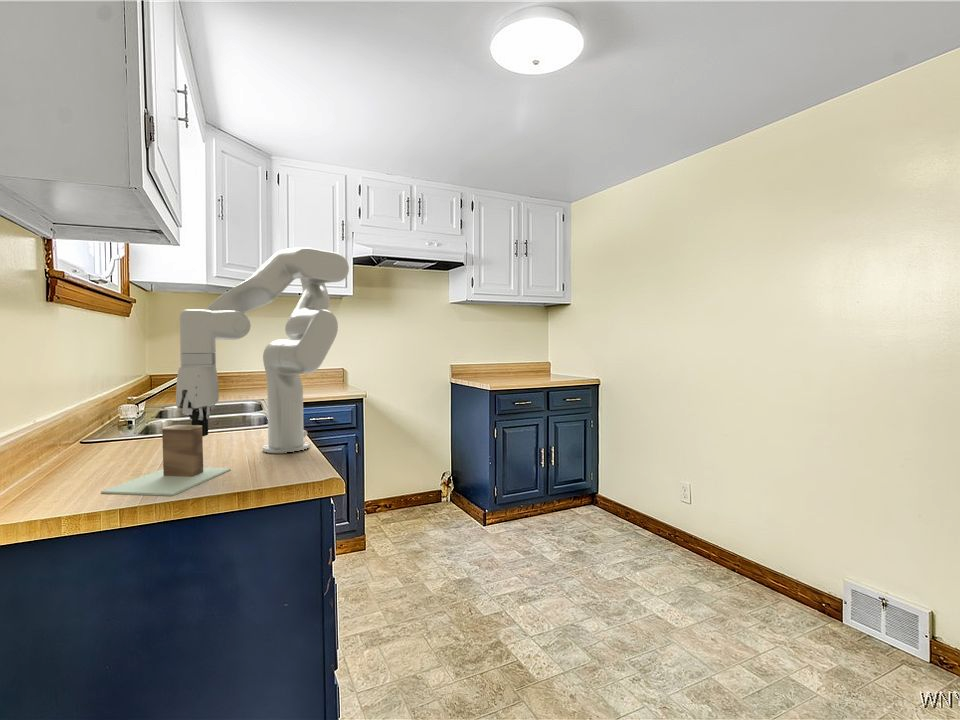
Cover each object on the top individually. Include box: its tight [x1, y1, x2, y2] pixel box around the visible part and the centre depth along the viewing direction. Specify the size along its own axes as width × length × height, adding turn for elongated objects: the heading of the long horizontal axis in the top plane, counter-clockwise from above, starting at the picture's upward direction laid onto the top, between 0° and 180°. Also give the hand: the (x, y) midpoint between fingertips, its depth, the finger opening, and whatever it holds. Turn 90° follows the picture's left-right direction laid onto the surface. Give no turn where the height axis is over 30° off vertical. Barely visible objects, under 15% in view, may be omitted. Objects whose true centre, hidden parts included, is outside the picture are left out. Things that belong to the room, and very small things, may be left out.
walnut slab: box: [161, 424, 204, 477], centre depth 119 cm, size 4×7×11 cm, turn 84°
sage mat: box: [100, 467, 232, 497], centre depth 115 cm, size 20×16×1 cm
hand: (200, 435), depth 125 cm, fingers closed
